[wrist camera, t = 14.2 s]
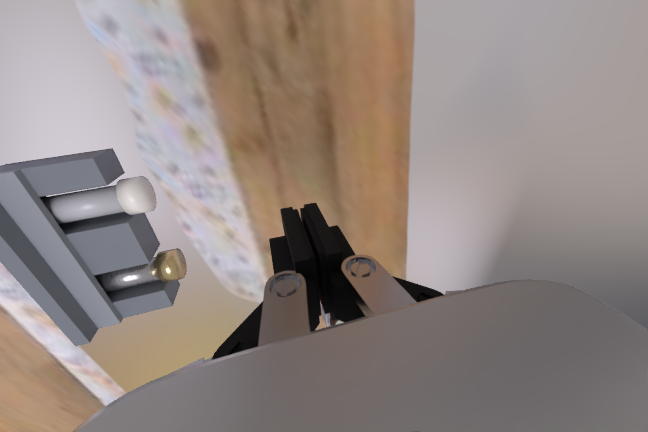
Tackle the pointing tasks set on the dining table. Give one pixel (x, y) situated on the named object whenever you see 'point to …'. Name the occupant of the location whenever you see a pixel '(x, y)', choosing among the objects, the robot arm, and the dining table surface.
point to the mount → (75, 245)
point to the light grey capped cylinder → (103, 201)
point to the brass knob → (146, 272)
